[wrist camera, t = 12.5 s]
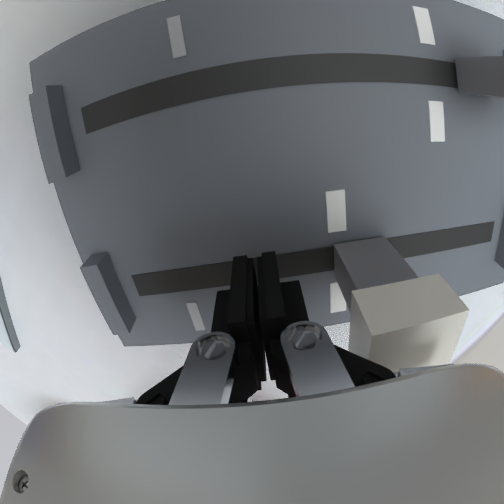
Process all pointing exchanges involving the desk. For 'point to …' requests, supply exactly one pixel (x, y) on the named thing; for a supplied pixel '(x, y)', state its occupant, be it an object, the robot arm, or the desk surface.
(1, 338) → the hard drive
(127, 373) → the desk surface
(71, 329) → the desk surface
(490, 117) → the fader console
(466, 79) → the fader knob
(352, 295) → the fader knob
